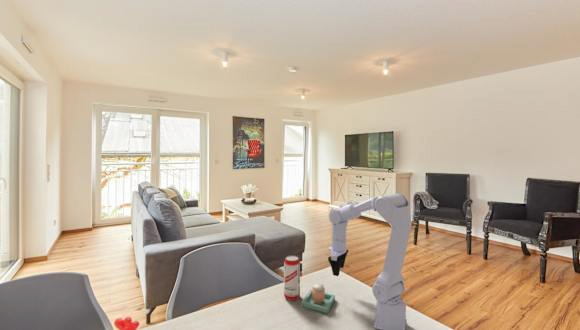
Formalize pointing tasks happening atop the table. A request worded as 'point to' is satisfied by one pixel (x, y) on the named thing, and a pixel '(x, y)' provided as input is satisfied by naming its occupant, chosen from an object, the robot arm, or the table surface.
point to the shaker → (318, 294)
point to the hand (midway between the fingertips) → (338, 271)
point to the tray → (322, 309)
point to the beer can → (291, 278)
